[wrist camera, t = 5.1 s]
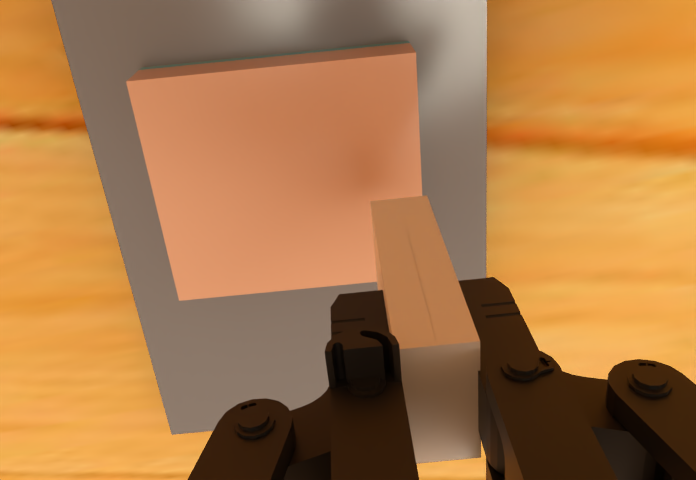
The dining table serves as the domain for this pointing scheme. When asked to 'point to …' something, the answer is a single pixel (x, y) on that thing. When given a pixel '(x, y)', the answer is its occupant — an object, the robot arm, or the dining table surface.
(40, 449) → the dining table surface
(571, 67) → the dining table surface
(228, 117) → the tile
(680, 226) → the dining table surface
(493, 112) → the dining table surface
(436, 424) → the robot arm
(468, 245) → the slate board
